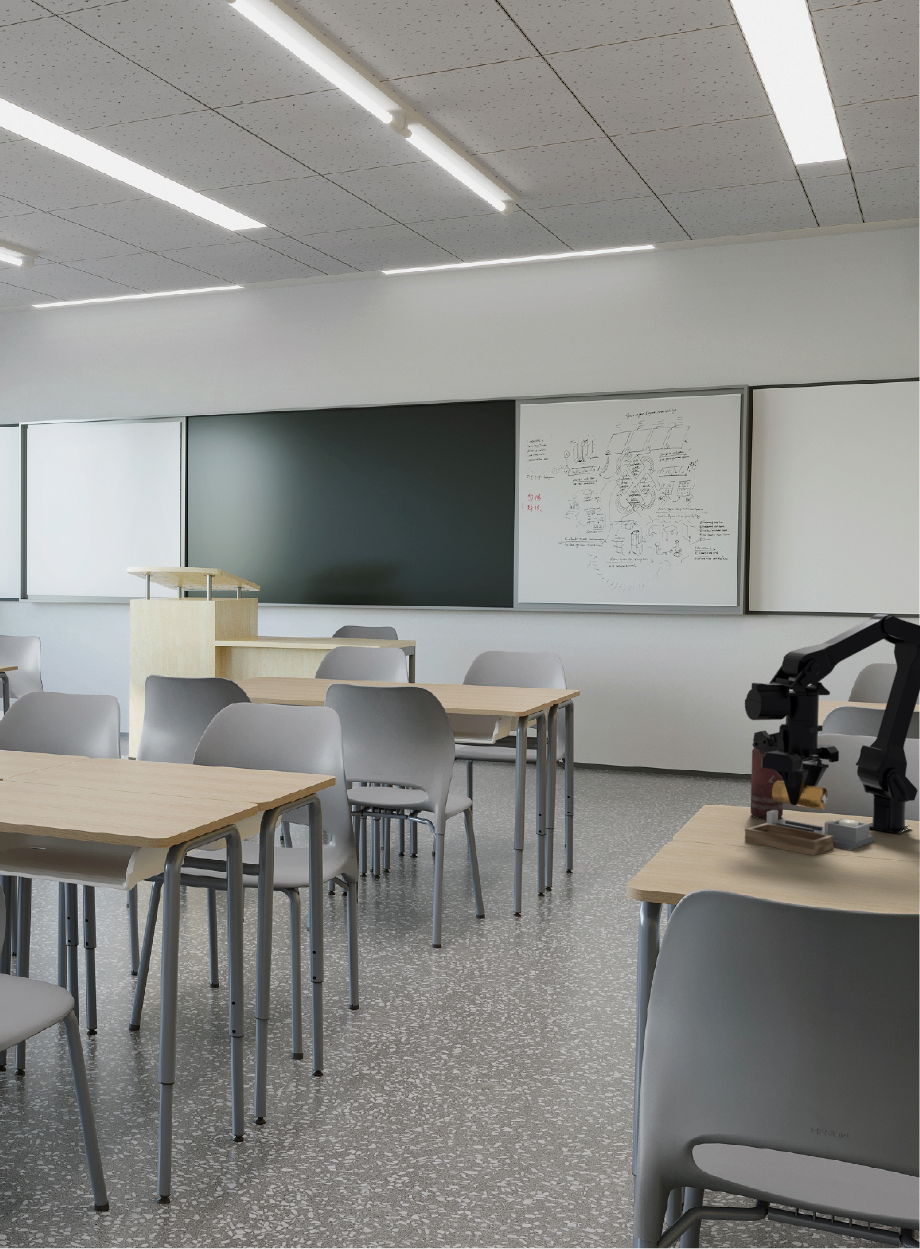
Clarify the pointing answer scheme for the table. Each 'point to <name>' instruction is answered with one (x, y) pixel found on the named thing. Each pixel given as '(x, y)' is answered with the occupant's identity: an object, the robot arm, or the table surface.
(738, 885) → the table surface
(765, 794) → the can
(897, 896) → the table surface
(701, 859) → the table surface
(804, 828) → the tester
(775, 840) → the trough
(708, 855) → the table surface
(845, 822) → the bulb
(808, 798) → the cell
